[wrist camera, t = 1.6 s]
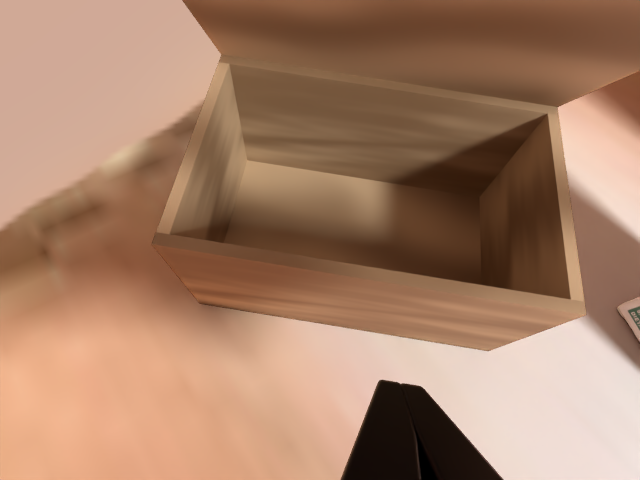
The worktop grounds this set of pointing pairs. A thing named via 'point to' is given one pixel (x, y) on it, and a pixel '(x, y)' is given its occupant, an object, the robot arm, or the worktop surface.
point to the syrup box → (632, 314)
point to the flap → (440, 41)
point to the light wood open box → (375, 207)
